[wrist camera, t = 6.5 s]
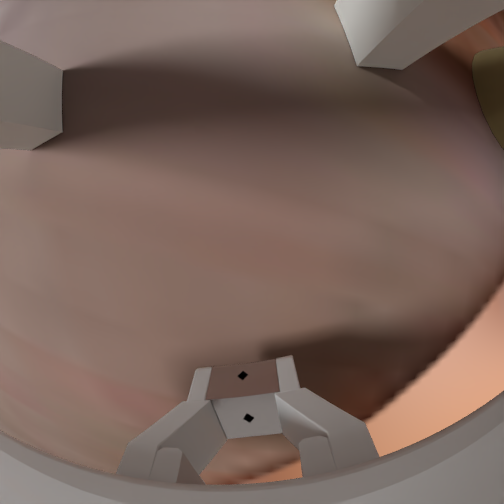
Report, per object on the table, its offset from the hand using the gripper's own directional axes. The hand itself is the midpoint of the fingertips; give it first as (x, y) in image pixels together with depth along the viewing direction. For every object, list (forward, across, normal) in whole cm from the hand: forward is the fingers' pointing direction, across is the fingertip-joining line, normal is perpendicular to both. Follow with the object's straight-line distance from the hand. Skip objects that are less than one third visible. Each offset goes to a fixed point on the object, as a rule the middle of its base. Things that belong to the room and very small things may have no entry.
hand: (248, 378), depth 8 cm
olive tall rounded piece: (+2, -15, -9) cm, 18 cm away
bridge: (+2, 0, -11) cm, 11 cm away
